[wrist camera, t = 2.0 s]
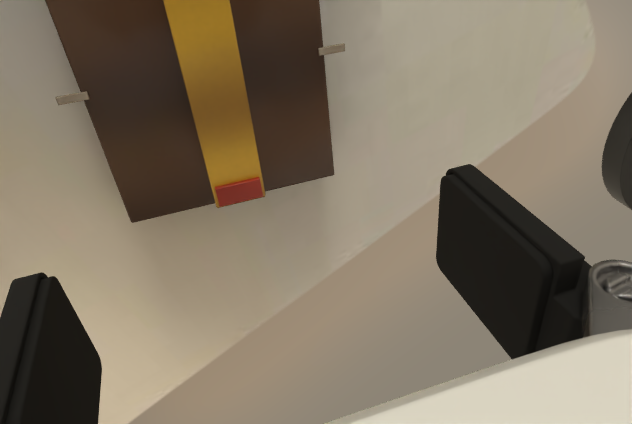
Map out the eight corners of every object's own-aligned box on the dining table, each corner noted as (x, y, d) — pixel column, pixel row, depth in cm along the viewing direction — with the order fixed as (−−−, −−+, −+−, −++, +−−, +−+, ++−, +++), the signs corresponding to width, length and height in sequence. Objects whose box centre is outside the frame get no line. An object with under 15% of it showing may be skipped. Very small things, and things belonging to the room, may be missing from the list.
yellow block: (154, -37, 21) (157, -21, 17) (210, -45, 21) (224, -31, 18) (206, 166, 27) (217, 211, 23) (249, 156, 27) (267, 199, 23)
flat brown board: (-3, -89, 21) (-23, -87, 18) (313, -127, 23) (334, -129, 21) (113, 200, 29) (111, 229, 27) (335, 150, 32) (352, 172, 30)
